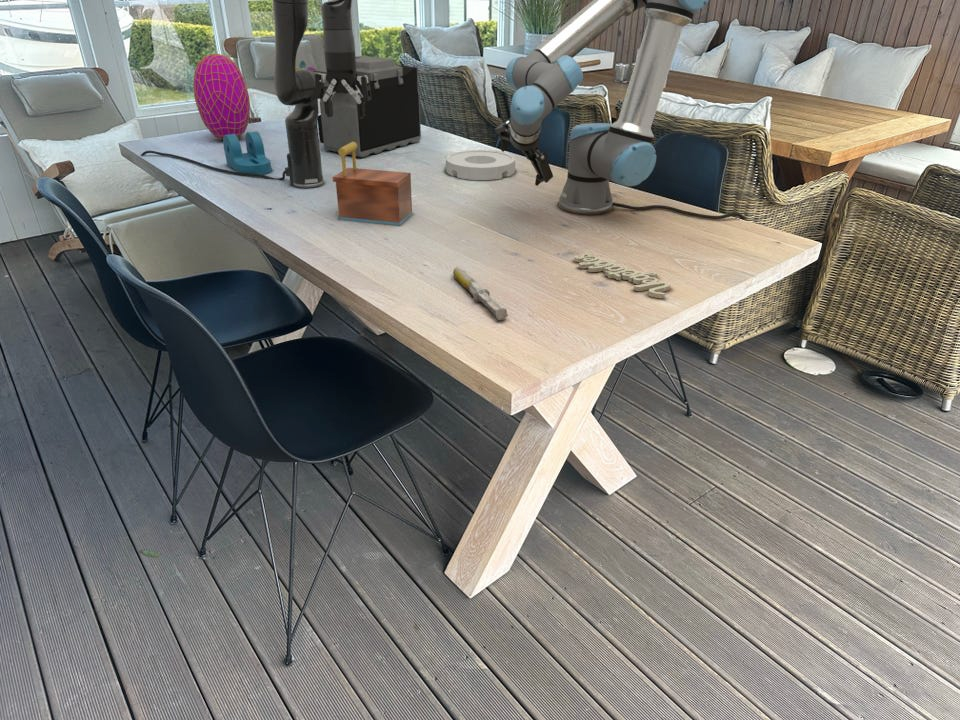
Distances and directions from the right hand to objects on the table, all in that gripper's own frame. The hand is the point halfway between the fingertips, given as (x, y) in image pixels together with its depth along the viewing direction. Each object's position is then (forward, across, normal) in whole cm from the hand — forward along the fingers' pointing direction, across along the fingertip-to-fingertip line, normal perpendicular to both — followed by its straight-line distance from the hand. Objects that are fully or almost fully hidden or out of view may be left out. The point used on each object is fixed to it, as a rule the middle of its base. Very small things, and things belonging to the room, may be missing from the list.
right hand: (522, 164), depth 190 cm
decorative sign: (-30, +43, -11) cm, 53 cm away
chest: (-1, -17, -40) cm, 43 cm away
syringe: (-40, +26, -39) cm, 62 cm away
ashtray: (+38, -19, 0) cm, 43 cm away
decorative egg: (+68, -104, -54) cm, 135 cm away
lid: (-7, -23, -34) cm, 42 cm away
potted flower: (+93, -102, -24) cm, 140 cm away
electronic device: (+63, -62, -16) cm, 90 cm away
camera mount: (+35, -72, -55) cm, 97 cm away
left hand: (-15, -37, -29) cm, 49 cm away
